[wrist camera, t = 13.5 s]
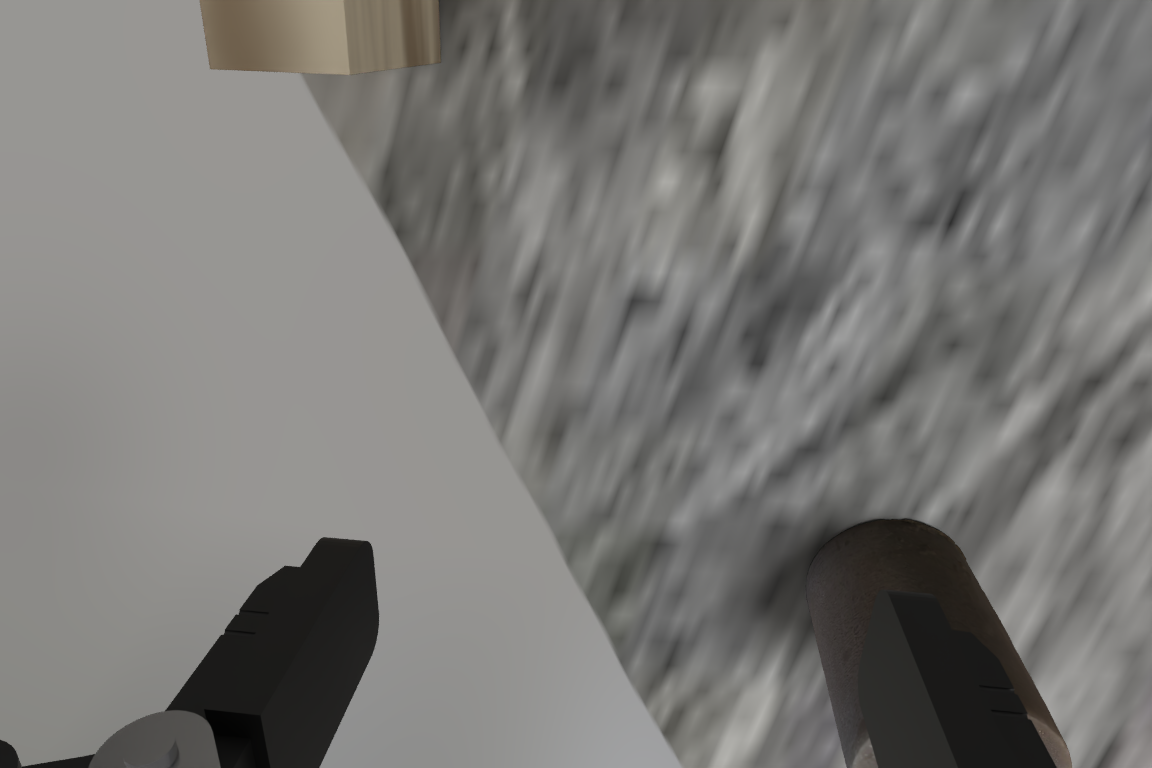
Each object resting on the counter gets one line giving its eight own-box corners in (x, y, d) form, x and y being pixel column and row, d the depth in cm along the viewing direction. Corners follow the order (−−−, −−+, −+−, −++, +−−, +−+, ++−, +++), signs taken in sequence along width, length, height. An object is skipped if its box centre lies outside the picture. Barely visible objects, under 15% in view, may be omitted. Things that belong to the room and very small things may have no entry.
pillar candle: (926, 491, 45) (1035, 693, 31) (996, 608, 47) (1125, 840, 34) (774, 560, 48) (813, 770, 34) (848, 666, 51) (912, 899, 37)
